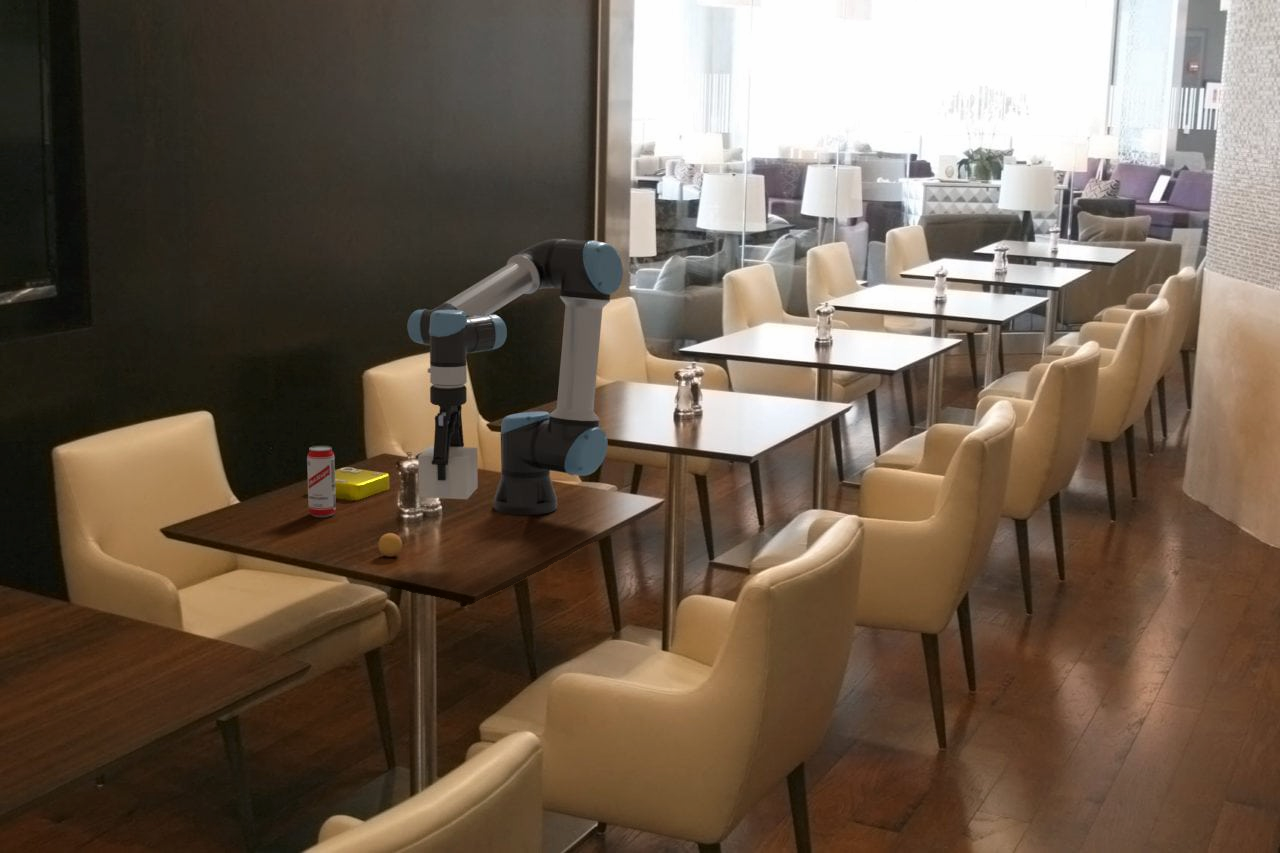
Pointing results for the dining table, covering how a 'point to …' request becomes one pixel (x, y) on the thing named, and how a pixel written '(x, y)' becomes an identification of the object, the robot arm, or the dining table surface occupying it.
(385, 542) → the ball
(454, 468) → the white cube
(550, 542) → the dining table surface
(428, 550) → the dining table surface
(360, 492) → the element tile
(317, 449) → the beer can
